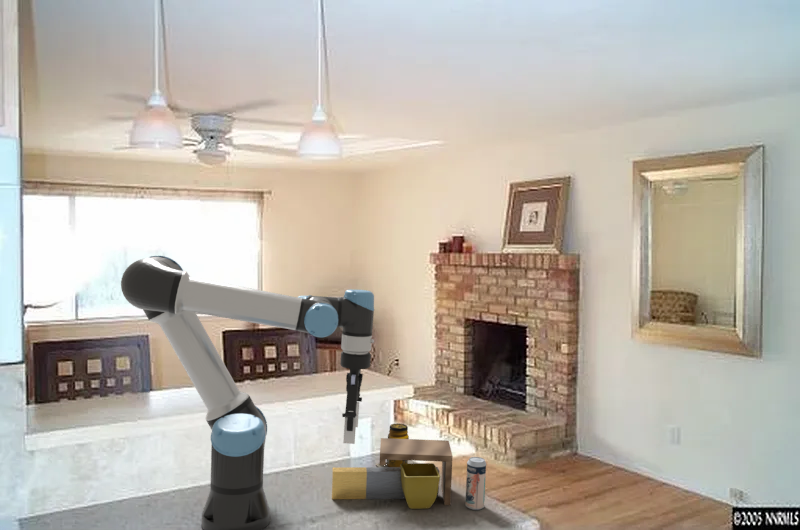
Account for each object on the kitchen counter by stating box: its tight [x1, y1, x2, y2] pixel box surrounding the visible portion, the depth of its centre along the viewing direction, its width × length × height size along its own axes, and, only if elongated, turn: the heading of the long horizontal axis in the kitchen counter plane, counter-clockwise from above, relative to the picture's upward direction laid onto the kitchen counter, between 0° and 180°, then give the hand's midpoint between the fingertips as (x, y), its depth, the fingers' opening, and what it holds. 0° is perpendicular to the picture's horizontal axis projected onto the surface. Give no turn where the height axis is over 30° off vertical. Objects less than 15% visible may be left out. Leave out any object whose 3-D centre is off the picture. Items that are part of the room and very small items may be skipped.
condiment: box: [374, 422, 410, 467], centre depth 191 cm, size 7×8×12 cm
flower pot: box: [400, 462, 441, 510], centre depth 165 cm, size 9×9×9 cm
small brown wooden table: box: [378, 437, 453, 506], centre depth 171 cm, size 18×12×12 cm, turn 91°
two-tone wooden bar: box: [331, 466, 440, 500], centre depth 170 cm, size 27×3×7 cm, turn 97°
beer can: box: [464, 456, 487, 511], centre depth 165 cm, size 5×5×12 cm
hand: (350, 434), depth 169 cm, fingers open, 13 cm apart
